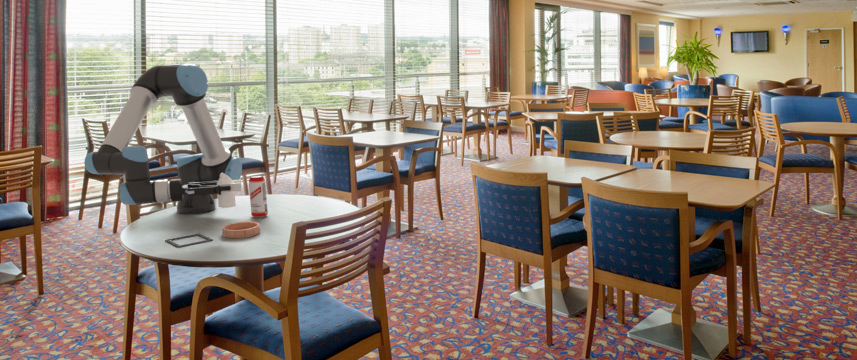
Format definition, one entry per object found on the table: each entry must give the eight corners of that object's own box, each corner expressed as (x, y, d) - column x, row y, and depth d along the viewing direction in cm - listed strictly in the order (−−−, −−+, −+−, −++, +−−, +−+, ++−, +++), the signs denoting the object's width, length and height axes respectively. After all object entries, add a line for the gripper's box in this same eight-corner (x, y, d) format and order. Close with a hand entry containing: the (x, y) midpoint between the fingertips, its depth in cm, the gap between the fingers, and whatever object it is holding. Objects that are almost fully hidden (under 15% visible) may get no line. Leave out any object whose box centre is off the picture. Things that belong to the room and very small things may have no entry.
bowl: (217, 234, 238) (216, 226, 237) (250, 227, 246) (249, 219, 245) (232, 240, 228) (231, 232, 228) (266, 233, 236) (265, 225, 236)
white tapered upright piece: (235, 170, 232) (228, 173, 227) (238, 204, 235) (231, 208, 229) (219, 170, 234) (211, 173, 228) (222, 204, 236) (215, 207, 230)
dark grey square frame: (165, 241, 231) (165, 239, 230) (199, 234, 238) (199, 233, 238) (178, 247, 222) (178, 246, 221) (213, 240, 229) (212, 239, 229)
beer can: (263, 218, 259) (260, 177, 256) (248, 218, 260) (245, 177, 257) (270, 214, 265) (267, 174, 262) (255, 214, 266) (252, 174, 263)
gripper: (174, 196, 236) (242, 190, 242) (168, 207, 219) (241, 201, 224) (172, 175, 235) (240, 170, 241) (165, 184, 217) (239, 179, 223)
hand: (240, 185), depth 233 cm, fingers closed on white tapered upright piece, 6 cm apart
